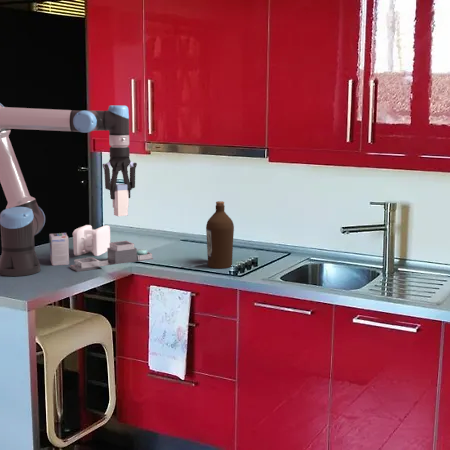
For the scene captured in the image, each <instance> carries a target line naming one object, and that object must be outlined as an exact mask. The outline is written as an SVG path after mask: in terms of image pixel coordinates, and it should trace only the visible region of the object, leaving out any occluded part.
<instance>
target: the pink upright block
mask: <svg viewBox="0 0 450 450" xmlns="http://www.w3.org/2000/svg"><path fill="white" fill-rule="evenodd" d="M115 191H117V208H113V216H115V217H124V216H125V217H126V216H129V213H128V212H129V210H128V208H129V207H128V200H127V184H124V183H116V188H115Z"/></svg>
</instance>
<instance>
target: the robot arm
mask: <svg viewBox="0 0 450 450" xmlns="http://www.w3.org/2000/svg"><path fill="white" fill-rule="evenodd" d="M129 113H130V112H129V107H128V106H127V105H108V108H107V110H92V109H91V110H89V109H88V110H87V109H85V110H73V109H72V110H71V109H52V108H32V107H31V108H29V107H28V108H27V107H8V106H4V105H3V104H2V103H1V102H0V184H1V187H2V190H3V194H4V196H5V198H6V201H7V205H6V207H5V209H3V210H2V211H1V212H0V235H1V236H0V240H1V241H0V242H1V255H0V275H1V276H6V277H20V276H21V277H23V276H30V275H34V274H37V273H40V272H41V264H40V263H41V262H40V260H39V258H38V256H37V252H36V250H35V249H36V248H35V236H37V235H38V234H39V233H41V231H42V230H43V228H44V226H45V223H46V215H45V213H44V211H43V209H42V208H41V207H40V206H39V205H38V202H37V199H36V198H35V197H33V196H31V195H30V192H29V190H28V187H27V183H26V181H25V178H24V175H23V172H22V170H21V167H20V164H19V161H18V159H17V157H16V154H15V151H14V148H13V146H12V142H11V140H10V138H9V137H10V136H9V135H10V134H11V130H12V129H14V130H35V131H36V130H39V131H57V132H59V131H60V132H74V133H75V132H77V133H82V134H83V133H85V134H86V133H91V132H94V131H96V132H97V131H99V132H100V131H106V132H107V131H108V132H109V133H108V135H109V136H108V139H109V146H110V147H109V159H108V162H105V163H102V168H103V171H104V188H105V190H107V191H110V193H109V195H110V200H112V208H113V209H114V208H117V191H115V188H116V184H117V182H118V181H117V180H118V175H119V173H120V172H121V174H122V179H123V184H127V200H128V208H129V207H130V206H129V201H130V200H129V199H130V198H131V191H132V190H133V189H135V188H136V168H137V165H138V164H137V162H134V161H131V159H130V153H131V152H130V151H131V150H130V147H129V146H130V115H129ZM111 168H112V171H111V172H110V169H111ZM128 168H129V171H128ZM111 173H112V174H111Z"/></svg>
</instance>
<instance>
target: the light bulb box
mask: <svg viewBox="0 0 450 450" xmlns="http://www.w3.org/2000/svg"><path fill="white" fill-rule="evenodd" d="M48 236H49V257H50V258H49V260H50V263H51V266H65V265H67V266H68V265H69V266H70V255H69V254H70V249H69V247H70V245H69V244H70V243H69V236H68V234H67V232H61V233H60V232H59V233H49V235H48Z"/></svg>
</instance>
